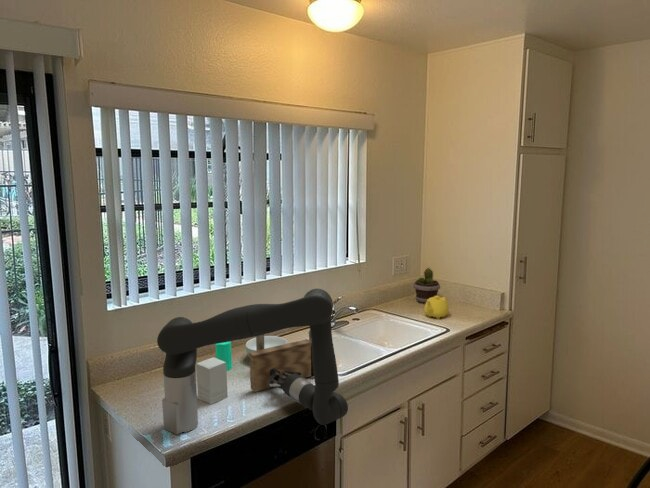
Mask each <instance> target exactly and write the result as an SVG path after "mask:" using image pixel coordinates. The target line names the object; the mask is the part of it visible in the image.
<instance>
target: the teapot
mask: <svg viewBox="0 0 650 488" xmlns="http://www.w3.org/2000/svg"><path fill="white" fill-rule="evenodd" d="M449 308H450V307H449V304H448V300H447V297H446V296H443V297H442V296H441V297H440V295H437V296H435V297H431V298H429V299H428V300H427V302H426V304H425V305H424V310H423V311H424V314H425V316H427V318H431V317H433V318H435V319H436V320H441V318H445V317H446V316H447V315H448V313H449Z"/></svg>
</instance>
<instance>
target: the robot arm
mask: <svg viewBox="0 0 650 488" xmlns="http://www.w3.org/2000/svg"><path fill="white" fill-rule="evenodd" d="M333 302H334V301H333V299H332V296H331V295H330V294H329V292H327V291H326V290H325V289H322V288H313V289H310V290H309V291H307V292H306V293H305V294H304V295H303V297H301V298H297V299H295V300H290V301H287V302H284V303H254V304H253V303H252V304H249V305H243V306H239V307H234V308H232V309H229V310H228V309H227V310H226V311H223V312H221V313H218V314H217V315H214V316H212V317H209V318H207V319H204V320H201V321H197V322H193V321H191V320H190V319H189V318H187V317H184V316H178V317H174V318H172V319H170V320H169V321H168V322H167V324H165V325H164V326H163V327H162V328H161V329H160V330H159V333H158V335H157V340H156V342H157V343H156V344H157V346H158V348H159V350H160V351H162V352H163V353H165V357H164V358H165V360H164V362H163V365H162V369H163V370H162V371H163V373H162V374H163V384H164V385H163V386H164V387H163V388H164V398H162V401H161V403H162V405H161V406H162V420H163V421H162V422H163V429H164V430H166V431H168V432H170V433H173V434H175V435H179V434H183V433H182V432H184V433H187V431H188V432H190V430H191V431H193V430H195V429H196V428H197V426H198V425H199V414H198V389H197V368H196V363H197V359H198V358H197V356H198V351H197V350H198V349H199V348H200V349H201V348H203V347H206V346H210V345H215V344H218V343H224V342H229V341H231V342H234V341H238V340H244V339H250V338H256V336H259V335H263V334H264V335H267V334H270V333H274V332H278V331H283V330H285V329H289V328H290V329H291V328H299V327H309V330H310V332H311V339H312V360H313V371H314V379H313V380H314V383H312V382H311V381H309V379H306V378H303V377H302V376H301V372H294V371H285V372H282V371H278V370H276V369H271V371H270V376H271V378H270V381H269V386H270V388H269V389H274V388H275V387H277V389H280V390H282V392H283V393H284V395H286V396H288V397H289V398H290V399H291V400H293V401H294V402H296V403H299V405H300V404H301V405H302V406H304V407H305V408H307V409H308V410H310V411H312V415H313V418H314V419H315V421H316V423H318V424H319V425H322V426H325V425H328V424H331V423H333V422H335V421H337V420H339V419H341V418H344V417H345V416H346V415H347V414H348V411H349V404H348V402H347V400H346V398H345V397H344V396H343V395H342V394H340V393H338V392H336V390H337V389H338V387H339V383H340V381H339V373H338V366H337V365H338V364H337V361H336V360H337V359H336V355H335V347H334V343H333V334H332V314H333V310H334V307H333V306H334V303H333ZM275 380H276V381H277V383H276V381H275Z"/></svg>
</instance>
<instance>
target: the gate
mask: <svg viewBox="0 0 650 488" xmlns="http://www.w3.org/2000/svg"><path fill="white" fill-rule="evenodd" d="M311 345H312V342H311V341H309V339H308V338H307V339H306V338H305V339H301V340H297V341H292V342H287V344H283V345H279V346H275V347H270V348H266V349H262V350H257V351H253V352H249V356H250V357H249V356H248V357H249V375H250V377H249V378H250V381H249V382H250V389H251V390H252V391H253V392H254V393H255V392H258V391H262V390H266V389H270V386H269V381H270V378H271V376H270V371H271V369H276V370H278V371H282V372H285V371H294V372H301V376H302V377H303V378H305V379H306V378H308V377H309V376H311ZM275 381H276V380H275ZM276 383H277V381H276Z"/></svg>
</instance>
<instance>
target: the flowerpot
mask: <svg viewBox="0 0 650 488" xmlns="http://www.w3.org/2000/svg"><path fill="white" fill-rule="evenodd" d="M422 273H423V275H422V276H423V277H422V276H420V277H418V279H416V280H415V281H414V282H413V284H412V285H413V288H414V290H415V294H416V295H415V299H416V301H417V302H418V303H419V304H425V305H426V302H427V300H428V299H429V298H431V297H435V296H438V292H439V290H440V288H441V284H440V283H439V281H438V280H434V276H435V275H434V271H433V269H431V266H430V267H429V265H428V267H427V268H425V269H424V271H422Z"/></svg>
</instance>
